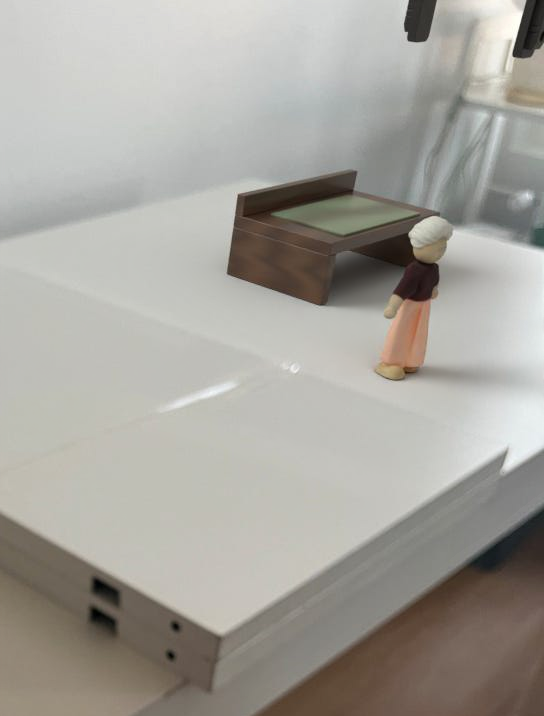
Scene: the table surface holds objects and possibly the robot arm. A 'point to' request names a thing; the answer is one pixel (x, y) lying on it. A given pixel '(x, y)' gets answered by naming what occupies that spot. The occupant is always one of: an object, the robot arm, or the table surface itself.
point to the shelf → (316, 233)
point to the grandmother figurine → (414, 300)
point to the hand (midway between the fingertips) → (468, 49)
